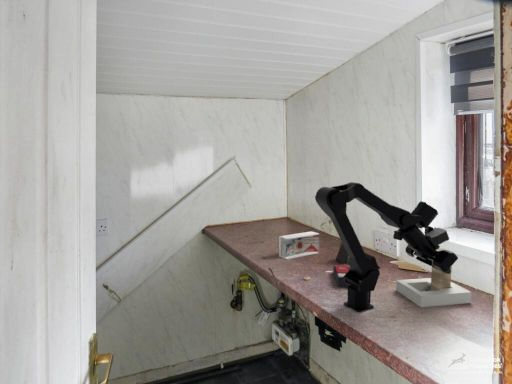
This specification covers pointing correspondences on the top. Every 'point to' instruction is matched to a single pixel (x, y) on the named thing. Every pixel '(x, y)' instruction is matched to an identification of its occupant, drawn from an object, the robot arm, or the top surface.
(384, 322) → the top surface
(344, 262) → the phone stand
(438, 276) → the keyhole post
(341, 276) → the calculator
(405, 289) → the keyhole plate
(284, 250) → the cigarette display
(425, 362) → the top surface
